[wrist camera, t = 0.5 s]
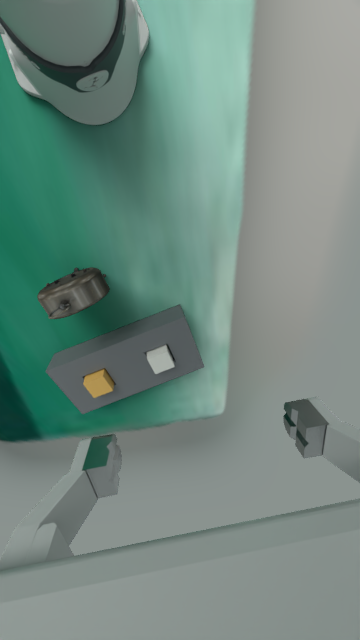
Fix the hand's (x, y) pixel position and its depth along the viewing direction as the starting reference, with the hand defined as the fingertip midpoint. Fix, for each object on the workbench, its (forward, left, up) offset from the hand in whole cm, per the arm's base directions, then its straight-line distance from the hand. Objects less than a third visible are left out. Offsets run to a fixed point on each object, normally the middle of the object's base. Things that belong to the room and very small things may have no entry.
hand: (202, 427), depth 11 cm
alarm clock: (0, -15, -40) cm, 43 cm away
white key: (+20, -7, -35) cm, 41 cm away
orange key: (+20, -21, -35) cm, 45 cm away
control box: (+20, -14, -40) cm, 46 cm away
